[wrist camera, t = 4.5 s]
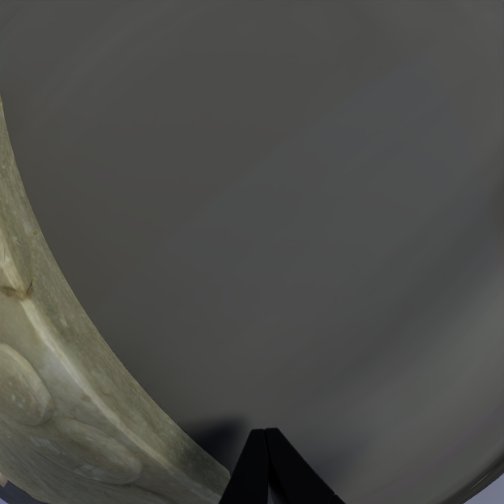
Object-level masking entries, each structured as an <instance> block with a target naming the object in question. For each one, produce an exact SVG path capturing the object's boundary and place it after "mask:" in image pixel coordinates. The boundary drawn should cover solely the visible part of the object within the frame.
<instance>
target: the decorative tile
mask: <svg viewBox="0 0 504 504" xmlns="http://www.w3.org/2000/svg"><path fill="white" fill-rule="evenodd" d="M0 473H1V474H2V475H3V476H4V477H6V478H7V479H8V480H9V481H11V482H12V483H13V484H15V485H16V486H18V487H19V488H21V489H23V490H24V491H26V492H27V493H28V494H29V495H31V496H32V497H33V498H35V499H36V500H39V501H42V502H46V503H51V504H218V503H219V501H220V499H221V497H222V495H223V493H224V491H225V488H226V486H227V484H228V482H229V480H230V478H231V477H230V474H229V471H228V470H227V469H226V468H225V467H224V466H222V465H221V464H220V463H219V462H218V461H216V460H215V459H214V458H213V457H212V456H210V455H209V454H208V453H207V452H206V451H205V450H203V449H202V448H201V447H200V446H199V445H198V444H197V443H195V442H194V441H193V440H192V439H191V438H190V437H189V436H188V435H187V434H186V433H185V432H184V431H183V430H182V429H181V428H180V427H179V426H178V425H177V424H176V423H175V422H174V421H173V420H172V419H171V418H170V417H169V416H168V415H167V414H166V413H165V412H164V411H163V410H162V409H161V408H160V407H159V406H158V405H157V404H156V403H155V402H154V401H153V400H152V398H151V397H150V396H149V395H148V394H147V393H146V392H145V391H144V389H143V388H142V387H141V386H140V385H139V384H138V383H137V381H136V380H135V379H134V378H133V377H132V375H131V374H130V373H129V372H128V371H127V369H126V368H125V367H124V366H123V364H122V363H121V362H120V360H119V359H118V358H117V357H116V355H115V354H114V353H113V351H112V350H111V349H110V347H109V346H108V344H107V343H106V342H105V340H104V339H103V338H102V336H101V335H100V333H99V332H98V330H97V329H96V328H95V326H94V325H93V323H92V322H91V320H90V319H89V317H88V316H87V314H86V313H85V311H84V309H83V308H82V306H81V305H80V303H79V301H78V300H77V298H76V297H75V295H74V293H73V292H72V290H71V288H70V286H69V285H68V283H67V281H66V279H65V278H64V276H63V274H62V272H61V270H60V268H59V267H58V265H57V263H56V261H55V259H54V257H53V255H52V253H51V251H50V249H49V247H48V245H47V243H46V241H45V239H44V236H43V234H42V232H41V230H40V227H39V225H38V223H37V220H36V218H35V215H34V213H33V210H32V208H31V205H30V203H29V200H28V198H27V195H26V192H25V189H24V186H23V183H22V180H21V177H20V174H19V171H18V168H17V165H16V162H15V158H14V154H13V151H12V147H11V144H10V140H9V136H8V131H7V127H6V122H5V118H4V113H3V107H2V101H1V96H0Z"/></svg>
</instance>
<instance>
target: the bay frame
mask: <svg viewBox="0 0 504 504" xmlns="http://www.w3.org/2000/svg"><path fill="white" fill-rule="evenodd" d="M7 481H8V479H7V478H6V477H4V476H3V475H2V474H1V473H0V485H2V486H3V487H4V486H5V484H6V483H7Z"/></svg>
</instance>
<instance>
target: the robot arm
mask: <svg viewBox="0 0 504 504" xmlns="http://www.w3.org/2000/svg"><path fill="white" fill-rule="evenodd" d="M268 482H269V487H270V491H271V495H272V498H273V502H274V504H346V503H345V502H343V501H342V500H341V499H340V498H339V497H338V495H336V494H335V493H334V492H333V490H332V489H331V488H330V487H329V486H328V485H327V484H326V483H325V482H324V481H323V480H322V479H321V478H320V477H319V476H318V474H317V473H316V472H315V471H314V470H313V469H312V468H311V467H310V466H309V464H308V463H307V462H306V461H305V460H304V459H303V458H302V456H301V455H300V454H299V453H298V452H297V451H296V449H295V448H294V447H293V446H292V445H291V444H290V442H289V441H288V440H287V439H286V437H285V436H284V435H283V434H282V433H281V431H280V430H279V429H278V428H276V427H275V428H266V429H265V430H264V429H252V430H251V431H250V434H249V436H248V439H247V441H246V443H245V446H244V448H243V450H242V453H241V455H240V457H239V460H238V462H237V464H236V466H235V469H234V471H233V473H232V475H231V478H230V480H229V482H228V484H227V486H226V488H225V491H224V493H223V495H222V497H221V499H220V501H219V503H218V504H268ZM334 494H335V495H334Z"/></svg>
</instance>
